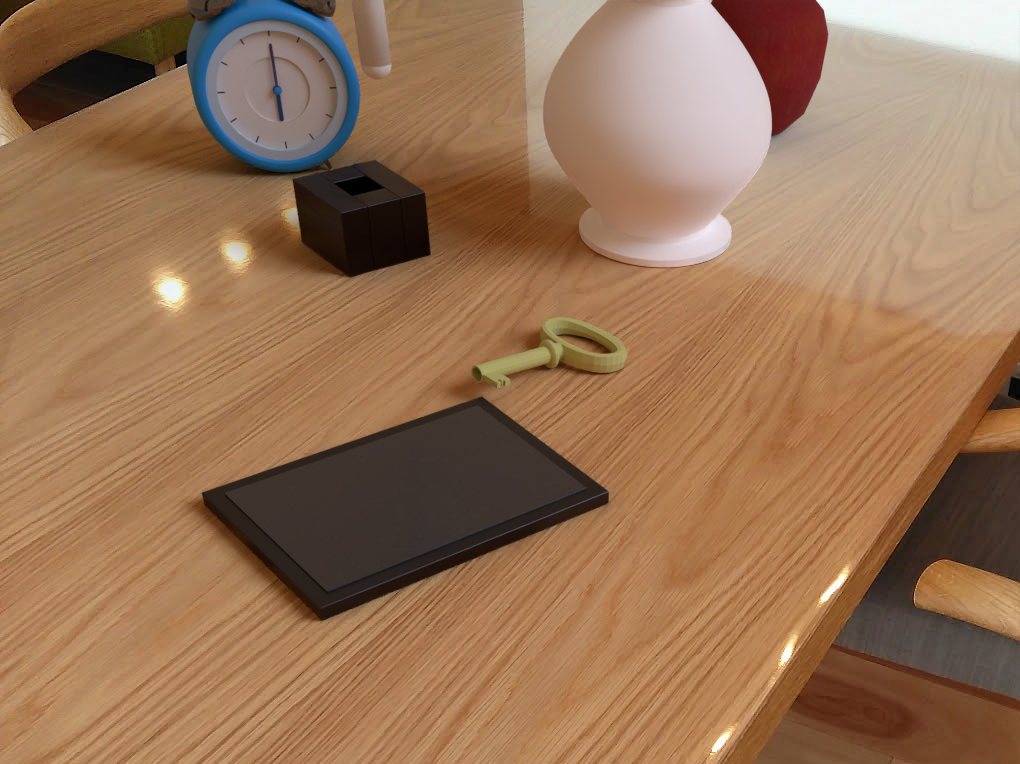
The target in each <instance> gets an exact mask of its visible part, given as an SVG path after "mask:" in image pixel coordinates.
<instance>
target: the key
mask: <svg viewBox="0 0 1020 764" xmlns="http://www.w3.org/2000/svg"><path fill="white" fill-rule="evenodd" d="M558 335H572V336H576V337H577V336H578V337H583V338H586V339H590V340H592V341H594V342H596V343H598V344H600V345H602V346H604V347H605V348H606V349H607V350H608V351H609V353H598V352H592V351H589V350H586V349H583V348H580V347H578V346H576V345H573V344H571V343H570V342H567V341H565V339H562V338H561V337H560V336H558ZM539 339H540V342H539V345H538V347H535V348H532V349H529V350H524V351H522V352H518V353H513V354H511V355H507V356H504V357H500V358H496V359H493V360H489V361H486V362H482V363H479V364H474V365H472V367H471V370H470V372H471V377H472V379H473V381H474V382H476V383H477V384H481V383H485V382H486V383H488V384H489V385H490V386H492V387H494V388H495V389H501V387H508V386H510V385H511V379H510V378H509V377H507V376H509V375H512V374H516V373H519V372H523V371H527V370H529V369H532V368H537V367H540V366H545V367H546V368H549V369H553V368H556V367H557V366H558V364H559V363H560V361H562V362H564V363H565V364H568V365H570V366H572V367H574V368H578V369H580V370H584V371H587V372H592V373H600V374H601V373H603V374H604V373H605V374H607V373H614V372H617V371H620V370H622V369H623V368H624V367H625V365H626V361H627V359H628V351H627V347H626V345H625V344H624V343H623V341H621V339H619V338H618V337H616V336H614V335H613V334H611V333H609V332H608V331H606V330H604V329H602V328H600V327H598V326H595V325H594V324H591V323H589V322H585V321H582V320H579V319H576V318H571V317H567V316H566V317H565V316H553V317H549V318H546V319H545V320H543V321H542V323H541V327H540V330H539Z"/></svg>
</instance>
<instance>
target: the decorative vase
mask: <svg viewBox="0 0 1020 764" xmlns="http://www.w3.org/2000/svg"><path fill="white" fill-rule="evenodd" d="M542 119H543V121H542V122H543V129H544V131H543V132H544V135H545V139H546V142H547V144H548V147H549V150H550V152H551V153H552V156H553V157H554V159H555V160H556V162H557V163H558V165H559V167H560V168H561V170H562V171H563V172H564V173H565V175H566V176H567V178H568V179H569V180H570V181H571V183H572V184H573V185H574V186H575V187H576V189H577V190H578V192H579V193H580V194H581V195H582V196H583V197H584V199H585V200H586V201H587V202H588V203H589V205H590V207H588V208H587V209H586V210H585V211H583V213H582V214H581V216H580V217H579V221H578V233H579V236H580V238H581V240H582V242H583V243H584V244H585V245H586V246H587V247H588V248H589V249H591V250H592V251H593V252H595V253H597V254H599V255H601V256H603V257H605V258H608V259H610V260H613V261H616V262H620V263H623V264H628V265H633V266H639V267H648V268H680V267H687V266H692V265H693V266H694V265H698V264H701V263H705V262H708V261H710V260H713V259H715V258H717V257H719V256H720V255H722V254H723V253H724V252H725V251H727V249H728V248H729V246H730V245H731V243H732V234H733V232H732V231H733V230H732V226H731V223H730V222H729V221H728V219H727V218H726V217H725V215H722V212H723V211H724V210H725V209H726V208H727V207H728V206H729V205H730V204H731V203H732V202H733V201H734V199H735V198H736V197H737V196H739V194H740V193H741V192H743V191H742V190H744V189H745V187H746V186H747V185H748V184H749V183H750V181H752V179H753V178H754V177H755V175H756V174H757V172H758V171H759V169H760V168H761V166H762V165H763V163H764V161H765V159H766V157H767V154H768V152H769V148H770V145H771V139H772V135H771V132H772V115H771V107H770V101H769V97H768V93H767V90H766V87H765V85H764V82H763V80H762V78H761V76H760V73H759V71H758V69H757V67H756V66H755V64H754V62H753V60H752V58H751V57H750V55H749V53H748V52H747V50H746V48H745V47H744V45H743V44H742V42H741V41H740V39H739V38H738V37H737V35H736V34H735V33H734V31H733V30H732V29H731V27H730V26H729V25H728V24H727V22H726V21H725V20H724V19H723V18H722V16H721V15H720V14H719V13H718V12H717V10H716V9H715V8H714V7H713V6H712V5H711V1H709V0H606V1H605V2H604V3H603V4H602V5H601V6H600V7H599V8H598V9H597V10H596V11H595V12H594V13H593V14H592V15H591V16H590V17H589V18H588V20H586V22H584V24H583V25H582V26H581V27H580V28H579V30H578V31H577V32H576V33H575V34H574V36H573V37H572V38H571V40H570V41H569V43H568V44H567V46H566V47H565V48H564V50H563V52H562V53H561V55H560V57H559V58H558V60H557V62H556V64H555V65H554V68H553V69H552V72H551V74H550V76H549V79H548V82H547V84H546V89H545V92H544V99H543V108H542Z"/></svg>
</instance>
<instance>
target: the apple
mask: <svg viewBox="0 0 1020 764" xmlns="http://www.w3.org/2000/svg"><path fill="white" fill-rule="evenodd" d="M710 3H711V5H712V6H713V7H714V8H715V9H716V10H717V12H718V13H719V14H720V15H721V16H722V18H723V19H724V20H725V21H726V22H727V24H728V25H729V26H730V27H731V29H732V30H733V31H734V33H735V34H736V35H737V37H738V38H739V39H740V41H741V42H742V44H743V45H744V47H745V48H746V50H747V52H748V53H749V55H750V57H751V58H752V60H753V62H754V64H755V66H756V67H757V69H758V71H759V73H760V76H761V78H762V80H763V82H764V85H765V87H766V90H767V93H768V97H769V101H770V107H771V115H772V132H771V136H774V135H779V134H781V133H783V132H784V131H785V130H786V129H788V128H789V127H790V126H792V125H793V124H794V123H795V122H797V120H799V119H800V118H802V117H803V116H804V115H805V113H806V111H807V109H808V106H809V104H810V102H811V100H812V98H813V95H814V94H815V91H816V89H817V86H818V84H819V82H820V81H821V77H822V72H823V67H824V61H825V56H826V52H827V46H828V42H829V41H828V40H829V30H828V25H827V19H826V15H825V14H826V13H825V10H824V8H823V7H822V5H821V4H820V3H819V2H818V1H817V0H711V1H710Z"/></svg>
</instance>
